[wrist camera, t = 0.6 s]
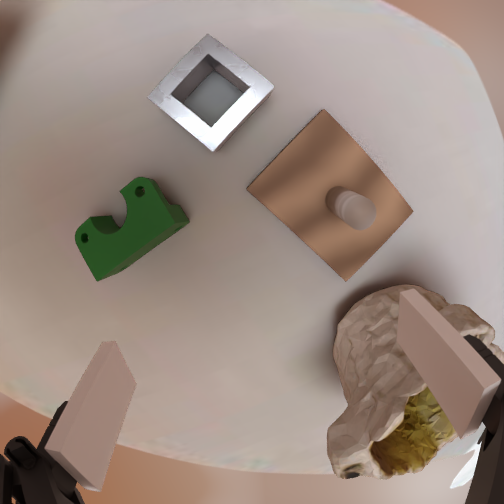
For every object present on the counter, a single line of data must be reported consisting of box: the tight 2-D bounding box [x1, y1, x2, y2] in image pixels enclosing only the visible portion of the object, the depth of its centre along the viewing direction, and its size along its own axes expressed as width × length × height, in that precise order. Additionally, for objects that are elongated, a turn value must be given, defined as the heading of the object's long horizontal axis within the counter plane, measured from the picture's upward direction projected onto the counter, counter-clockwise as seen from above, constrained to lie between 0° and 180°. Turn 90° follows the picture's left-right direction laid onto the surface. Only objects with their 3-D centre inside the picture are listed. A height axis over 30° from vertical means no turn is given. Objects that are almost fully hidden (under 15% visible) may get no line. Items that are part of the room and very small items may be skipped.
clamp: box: [75, 177, 189, 281], centre depth 31 cm, size 12×6×9 cm, turn 117°
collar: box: [147, 34, 275, 152], centre depth 27 cm, size 8×8×6 cm
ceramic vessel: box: [327, 284, 504, 479], centre depth 30 cm, size 23×24×25 cm
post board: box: [246, 109, 413, 281], centre depth 30 cm, size 16×12×8 cm
